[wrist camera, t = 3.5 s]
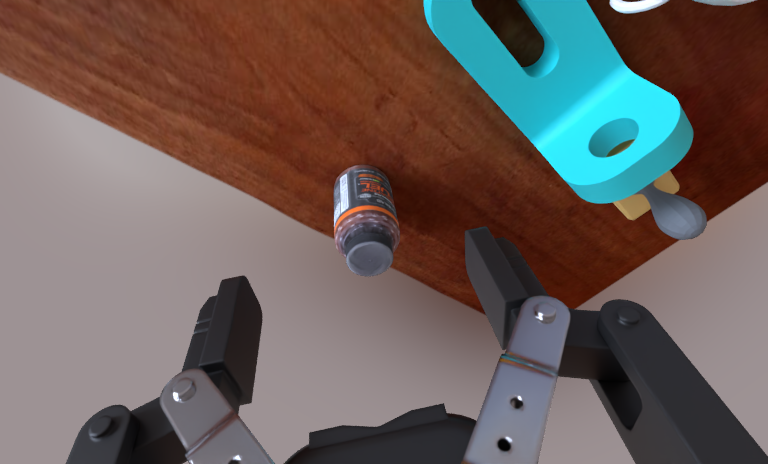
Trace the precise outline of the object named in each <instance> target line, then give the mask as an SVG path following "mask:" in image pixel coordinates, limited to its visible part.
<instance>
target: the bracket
mask: <svg viewBox="0 0 768 464" xmlns="http://www.w3.org/2000/svg"><path fill="white" fill-rule="evenodd" d="M516 1H517V2H518V3H519V5H520V6H521V8H522V9H523V10H524V12H525V13H526V15H527V16H528V17H529V19H530V20H531V21H532V23H533V24H534V26H535V27H536V28H537V30H538V31H539V33H540V34H541V35H542V37H543V39H544V43H545V47H544V51H543V54H542V56H541V57H540V58H539V60H538V61H537V62H536V63H534V64H533V65H531V66H528V67H521V66H520V65H519V64H518V62H517V61H516V60H515V59H514V57H513V56H512V55H511V54H510V52H509V51H508V50H507V49H506V47H505V46H504V45H503V44H502V42H501V41H500V40H499V39H498V37H497V36H496V35H495V34H494V32H493V31H492V30H491V29H490V27H489V26H488V25H487V24H486V22H485V21H484V20H483V19H482V17H481V16H480V15H479V14H478V12H477V11H476V10H475V9H474V7H473V5H472V2H471V0H424V11H425V16H426V20H427V22H428V25H429V27H430V29H431V30H432V32H433V33H434V34H435V35H436V37H437V38H438V39H439V40H440V41H441V43H442V44H443V45H444V46H445V47H446V48H447V49H448V51H449V52H450V53H451V54H452V55H453V56H454V57H455V58H456V59H457V60H458V62H459V63H460V64H461V65H462V66H463V67H464V68H465V69H466V70H467V71H468V73H469V74H470V75H471V76H472V77H473V78H474V79H475V80H476V81H477V82H478V84H479V85H480V86H481V87H482V88H483V89H484V90H485V91H486V92H487V94H488V95H489V96H490V97H491V98H492V99H493V100H494V101H495V102H496V103H497V105H498V106H499V107H500V108H501V109H502V110H503V111H504V112H505V113H506V114H507V116H508V117H509V118H510V119H511V120H512V121H513V122H514V123H515V124H516V126H517V127H518V128H519V129H520V130H521V131H522V132H523V133H524V134H525V135H526V137H527V138H528V139H529V140H530V141H531V142H532V143H533V144H534V145H535V147H536V148H537V149H538V150H539V151H540V152H541V153H542V155H543V156H544V157H545V158H546V159H547V160H548V162H549V163H550V164H551V165H552V166H553V167H554V169H555V170H556V171H557V172H558V173H559V174H560V176H561V177H562V178H563V179H564V180H565V181H566V182H567V183H568V185H569V186H570V187H571V188H572V189H573V190H574V191H575V192H576V193H577V194H578V195H579V196H580V197H581V198H582V199H584V200H586V201H589V202H592V203H611V202H616V201H619V200H622V199H625V198H627V197H629V196H631V195H633V194H635V193H637V192H638V191H640V190H641V189H643V188H644V187H645V186H647V185H648V184H650V183H651V182H653V181H654V180H656V179H657V178H659V177H660V176H661V175H663V174H664V173H666V172H667V171H669V170H670V169H671V168H673V167H674V166H675V165H676V164H678V163H679V162H680V161H681V160H682V158H683V157H684V156H685V155H686V153H687V152H688V150H689V148H690V146H691V144H692V140H693V129H692V126H691V124H690V122H689V120H688V119H687V117H686V115H685V113H684V111H683V109H682V108H681V106H680V104H679V102H678V100H677V99H676V98H675V97H674V96H673V95H672V94H670V93H668V92H667V91H665V90H663V89H661V88H659V87H658V86H656V85H654V84H652V83H650V82H649V81H647V80H645V79H643V78H642V77H640V76H638V75H636V74H635V73H633V72H632V71H631V70H630V69H629V68H628V67H627V66H626V65H625V64H624V62H623V61H622V59H621V57H620V56H619V54H618V52H617V51H616V49H615V47H614V46H613V44H612V43H611V41H610V39H609V38H608V36H607V34H606V33H605V31H604V29H603V28H602V26H601V24H600V23H599V21H598V19H597V18H596V16H595V14H594V13H593V11H592V9H591V8H590V6H589V4H588V3H587V1H586V0H516ZM632 139H635V141H634V142H633V143H632V144H631V145H630V146H629V147H628V148H627V149H625V150H624V151H622V152H621V153H619V154H617V155H614V156H611V157H606V156H607V154H608V153H609V152H610V151H611V150H612V149H613V148H614V147H616V146H617V145H619V144H620V143H623V142H625V141H628V140H632Z"/></svg>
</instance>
